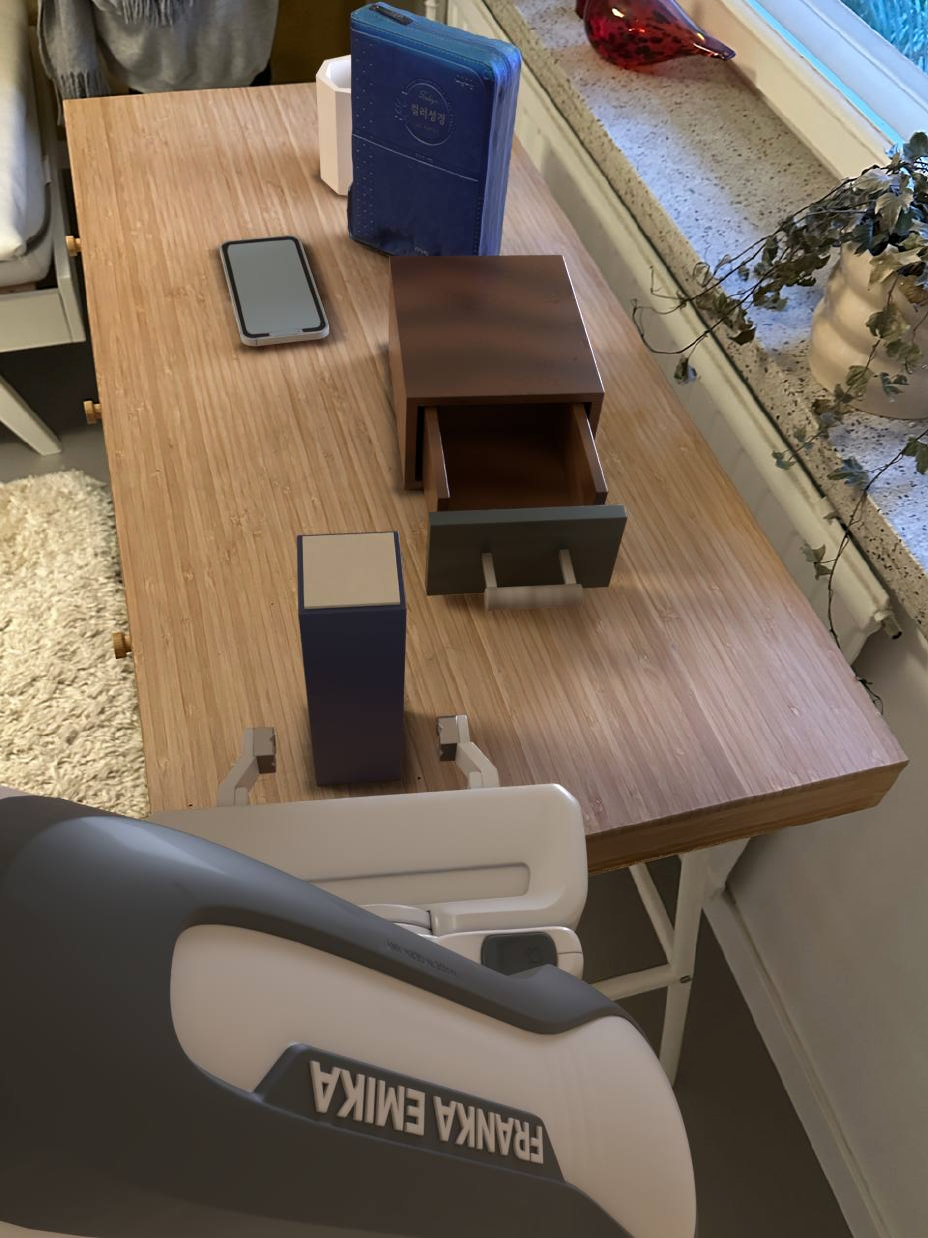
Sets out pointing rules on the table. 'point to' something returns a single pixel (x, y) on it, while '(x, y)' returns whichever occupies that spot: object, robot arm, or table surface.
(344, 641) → the box
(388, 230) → the book
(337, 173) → the mug
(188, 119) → the table surface
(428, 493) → the drawer
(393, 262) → the cabinet
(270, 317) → the smartphone
